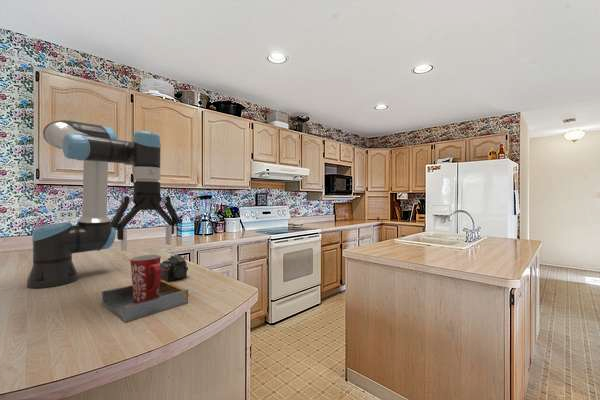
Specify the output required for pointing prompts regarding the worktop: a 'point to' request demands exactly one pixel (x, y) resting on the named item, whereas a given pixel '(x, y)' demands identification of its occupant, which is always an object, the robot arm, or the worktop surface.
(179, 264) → the camera
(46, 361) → the worktop surface
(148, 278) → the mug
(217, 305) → the worktop surface
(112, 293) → the tray
